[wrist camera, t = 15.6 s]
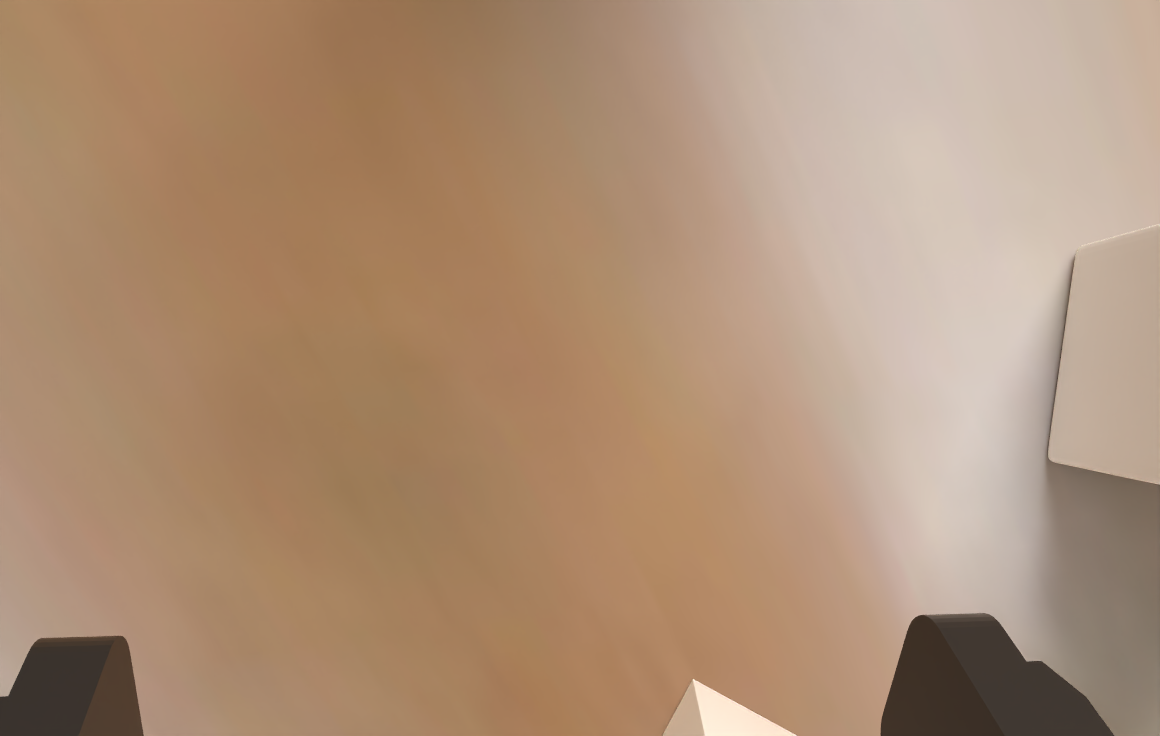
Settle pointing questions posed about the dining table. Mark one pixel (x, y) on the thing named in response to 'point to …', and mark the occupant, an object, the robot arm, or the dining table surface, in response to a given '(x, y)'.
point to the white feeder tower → (717, 716)
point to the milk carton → (1112, 360)
